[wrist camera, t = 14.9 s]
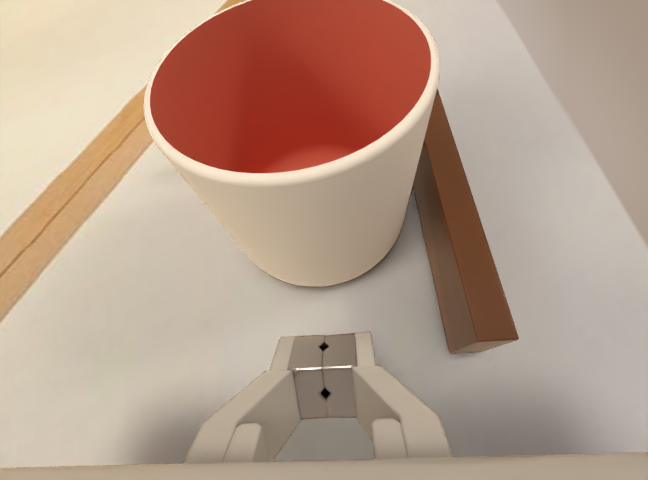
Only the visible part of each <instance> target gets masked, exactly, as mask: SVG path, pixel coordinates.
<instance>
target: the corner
mask: <svg viewBox="0 0 648 480" xmlns="http://www.w3.org/2000/svg"><path fill="white" fill-rule="evenodd" d="M413 189H414V193H415V198H416V202H417V207H418V211H419V216H420V220H421V225H422V230H423V234H424V239H425V243H426V248H427V252H428V257H429V261H430V266H431V270H432V275H433V280H434V284H435V289H436V293H437V298H438V302H439V307H440V311H441V316H442V320H443V325H444V330H445V334H446V339H447V343H448V348H449V352H450V353H451V354H456V353H474V352H482V351H485V350H488V349H491V348H494V347H497V346H500V345H503V344H506V343H510V342H513V341H516V340H518V339H519V337H518V334H517V331H516V328H515V325H514V322H513V319H512V316H511V313H510V310H509V307H508V303H507V300H506V297H505V294H504V291H503V288H502V285H501V282H500V279H499V276H498V273H497V270H496V267H495V264H494V261H493V258H492V254H491V251H490V248H489V245H488V242H487V239H486V236H485V233H484V230H483V227H482V224H481V221H480V218H479V215H478V212H477V208H476V205H475V202H474V199H473V196H472V193H471V190H470V187H469V184H468V181H467V178H466V175H465V172H464V169H463V166H462V163H461V159H460V156H459V153H458V150H457V147H456V144H455V141H454V138H453V135H452V132H451V129H450V126H449V123H448V120H447V117H446V113H445V110H444V107H443V104H442V101H441V98H440V95H439V92H438V89H437V91H436V95H435V98H434V102H433V106H432V110H431V114H430V118H429V122H428V126H427V130H426V134H425V138H424V142H423V146H422V150H421V154H420V158H419V162H418V166H417V170H416V174H415V178H414V182H413Z"/></svg>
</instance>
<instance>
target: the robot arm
mask: <svg viewBox="0 0 648 480" xmlns="http://www.w3.org/2000/svg"><path fill="white" fill-rule="evenodd" d="M355 341H356V342H355ZM318 418H357V420H358V421H359V423H360V424H361V426H362V427H363V429H364V430H365V432H366V433H367V434H368V436H369V437H370V439H371V440H372V442H373V444H374V457H375V459H348V460H308V461H273V460H274V458H275V457H276V456H277V454H278V453H279V451H280V450H281V449H282V447H283V446H284V444H285V443H286V442H287V440H288V439H289V437H290V436H291V435H292V433H293V432H294V430H295V429H296V427H297V426H298V425H299V423H300V422H301V420H302V419H318ZM0 480H648V452H643V453H601V454H559V455H518V456H482V457H453V455H452V452H451V449H450V447H449V444H448V441H447V438H446V435H445V433H444V430H443V427H442V424H441V421H440V419H439V416H438V415H437V414H436V413H435V412H434V411H433V410H432V409H430V408H429V407H428V406H427V405H426V404H425V403H423V402H422V401H421V400H420V399H419V398H418V397H417V396H415V395H414V394H413V393H412V392H411V391H410V390H409V389H407V388H406V387H405V386H404V385H403V384H402V383H400V382H399V381H398V380H397V379H396V378H395V377H394V376H392V375H391V374H390V373H389V372H388V371H387V370H385V369H384V368H383V367H382V366H381V365H379V366H376V362H375V355H374V349H373V343H372V337H371V333H370V332H359V333H351V334H338V335H312V336H289V337H281V338H280V339H279V342H278V345H277V348H276V351H275V355H274V358H273V361H272V364H271V367H270V370H269V371H265V372H263V373H262V374H261V375H260V376H259V377H257V378H256V379H255V380H254V381H253V382H251V383H250V384H249V385H248V386H247V387H245V388H244V389H243V390H242V391H241V392H239V393H238V394H237V395H236V396H235V397H233V398H232V399H231V400H230V401H229V402H227V403H226V404H225V405H224V406H223V407H221V408H220V409H219V410H218V411H217V412H215V413H214V414H213V415H212V416H210V417H209V418H208V419H207V420H206V421H204V422H203V423H202V425H201V427H200V429H199V431H198V433H197V435H196V437H195V439H194V441H193V443H192V445H191V447H190V449H189V451H188V453H187V455H186V457H185V459H184V461H183V463H182V464H144V465H102V466H60V467H16V468H0Z"/></svg>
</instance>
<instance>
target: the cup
mask: <svg viewBox="0 0 648 480" xmlns="http://www.w3.org/2000/svg"><path fill="white" fill-rule="evenodd" d="M439 76H440V60H439V53H438V50H437V46H436V44H435V41H434V39H433V37H432V35H431V34H430V32H429V31H428V29H427V28H426V27H425V25H424V24H423V23H422V22H421V21H420V20H419V19H418V18H417V17H416V16H415V15H413V14H412V13H411V12H410V11H408V10H407V9H405V8H404V7H402V6H400V5H399V4H397V3H395V2H393V1H390V0H246V1H243V2H240V3H238V4H235V5H233V6H231V7H228V8H226V9H224V10H222V11H220V12H218V13H216V14H214V15H212V16H210V17H209V18H207V19H205V20H204V21H202V22H200V23H199V24H197V25H196V26H195V27H193V28H192V29H190V30H189V31H188V32H187V33H185V34H184V35H183V36H182V37H181V38H179V39H178V40H177V41H176V42H175V43H174V44H173V45H172V46H171V47H170V48H169V49H168V51H167V52H166V53H165V54H164V55H163V57H162V58H161V59H160V61H159V62H158V64H157V65H156V67H155V69H154V71H153V73H152V74H151V77H150V79H149V82H148V84H147V88H146V92H145V98H144V115H145V121H146V125H147V128H148V130H149V133H150V135H151V137H152V139H153V140H154V142H155V144H156V145H157V146H158V148H159V149H160V150H161V151H162V153H163V154H164V155H165V156H166V157H167V159H168V160H169V161H170V162H171V163H172V165H173V166H174V167H175V168H176V170H177V171H178V172H179V173H180V174H181V176H182V177H183V178H184V179H185V180H186V182H187V183H188V184H189V185H190V186H191V188H192V189H193V190H194V191H195V192H196V194H197V195H198V196H199V197H200V198H201V200H202V201H203V202H204V203H205V205H206V206H207V207H208V208H209V209H210V211H211V212H212V213H213V214H214V215H215V217H216V218H217V219H218V220H219V221H220V223H221V224H222V225H223V226H224V227H225V229H226V230H227V231H228V232H229V234H230V235H231V236H232V237H233V238H234V240H235V241H236V242H237V243H238V244H239V246H240V247H241V248H242V249H243V250H244V252H245V253H246V254H247V255H248V256H249V258H250V259H251V260H252V261H253V262H254V263H255V264H256V265H257V266H258V267H259V268H261V269H262V270H263V271H265V272H266V273H268V274H269V275H271V276H273V277H275V278H277V279H279V280H282V281H284V282H288V283H291V284H295V285H301V286H312V287H318V286H329V285H335V284H339V283H343V282H346V281H348V280H351V279H354V278H356V277H358V276H360V275H362V274H364V273H365V272H367V271H368V270H370V269H371V268H373V267H374V266H375V265H376V264H377V263H379V262H380V261H381V260H382V259H383V258H384V257H385V255H386V254H387V253H388V252H389V251H390V249H391V248H392V246H393V245H394V243H395V241H396V240H397V238H398V236H399V234H400V231H401V228H402V225H403V222H404V218H405V214H406V210H407V206H408V202H409V198H410V194H411V190H412V186H413V182H414V178H415V174H416V170H417V166H418V162H419V158H420V154H421V150H422V146H423V142H424V138H425V134H426V130H427V126H428V122H429V118H430V114H431V110H432V106H433V102H434V98H435V95H436V91H437V87H438V82H439Z"/></svg>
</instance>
